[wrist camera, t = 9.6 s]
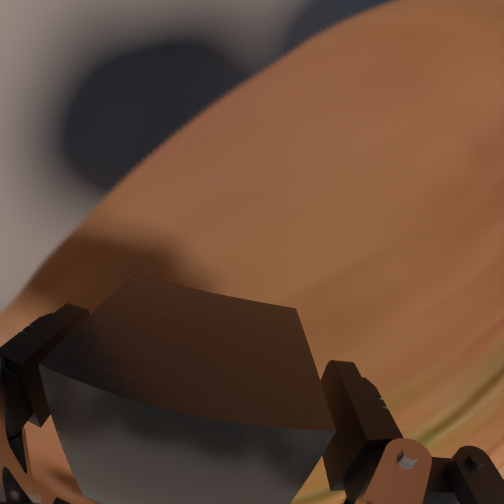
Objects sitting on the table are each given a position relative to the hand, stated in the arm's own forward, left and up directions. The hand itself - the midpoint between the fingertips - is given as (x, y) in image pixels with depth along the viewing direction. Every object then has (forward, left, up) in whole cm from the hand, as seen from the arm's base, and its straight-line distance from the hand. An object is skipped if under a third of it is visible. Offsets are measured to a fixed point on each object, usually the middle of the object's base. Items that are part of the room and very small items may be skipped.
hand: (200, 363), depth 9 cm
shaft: (0, +12, -1) cm, 12 cm away
